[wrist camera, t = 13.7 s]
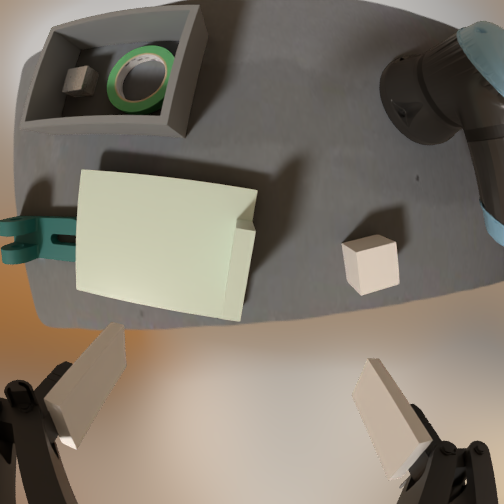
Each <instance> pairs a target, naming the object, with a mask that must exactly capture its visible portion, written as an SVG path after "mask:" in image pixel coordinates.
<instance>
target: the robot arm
mask: <svg viewBox="0 0 504 504" xmlns="http://www.w3.org/2000/svg"><path fill="white" fill-rule="evenodd" d="M380 96H381V100H382V103H383V106H384V108H385V111H386V113H387V115H388V116H389V118H390V120H391V121H392V123H393V124H394V125H395V126H396V128H397V129H398V130H399V131H400V132H401V133H402V134H404V135H405V136H406V137H407V138H409V139H410V140H412V141H414V142H416V143H419V144H422V145H435V144H441V143H444V142H446V141H448V140H449V139H451V138H452V137H453V136H454V135H455V133H457V132H458V131H459V130H460V129H462V128H463V130H464V133H465V136H466V139H467V143H468V146H469V150H470V154H471V157H472V161H473V166H474V170H475V175H476V179H477V184H478V189H479V195H480V199H479V201H480V205H481V208H482V209H483V215H484V220H485V225H486V229H487V231H488V233H489V234H490V235H491V236H492V237H493V239H494V240H495V241H496V242H498V243H499V244H500V245H502V246H504V29H502V28H501V27H499V26H498V25H495V24H493V23H490V22H486V21H480V22H476V23H474V24H472V25H470V26H468V27H464V28H461V29H459V30H458V31H457V32H456V33H455V34H453V35H452V36H450V37H449V38H447V39H446V40H444V41H443V42H441V43H439V44H438V45H436V46H435V47H433V48H432V49H430V50H429V51H428V52H426V53H425V54H419V55H411V56H403V57H400V58H398V59H396V60H394V61H393V62H392V63H390V64H389V65H388V66H387V67H386V68H385V69H384V71H383V73H382V75H381V78H380ZM125 368H126V353H125V336H124V325H121V324H117V323H114V322H111V323H110V324H109V325H108V326H107V327H106V328H105V329H104V330H103V331H102V333H101V334H100V335H99V336H98V337H97V338H96V339H95V340H94V341H93V343H91V345H90V346H89V347H88V348H87V349H86V350H85V351H84V352H83V353H82V355H81V356H80V357H79V358H78V359H77V360H76V361H75V363H74V364H72V363H69V362H63V363H61V364H60V365H57V366H56V368H54V370H53V371H52V372H51V373H50V374H49V375H48V376H47V378H45V379H44V380H43V382H42V383H41V384H40V385H39V386H38V387H37V388H36V389H35V390H34V391H33V388H32V386H31V385H30V384H29V383H28V382H26V381H24V380H16V381H12V382H10V383H8V384H7V386H6V387H5V390H4V393H5V395H6V397H7V399H4V398H0V504H16V500H15V477H16V475H15V474H16V457H17V459H18V464H19V469H20V473H21V478H22V482H23V486H24V490H25V493H26V496H27V500H28V503H29V504H78V503H77V501H76V499H75V496H74V494H73V491H72V489H71V486H70V484H69V481H68V478H67V476H66V473H65V470H64V467H63V464H62V461H61V458H60V455H59V451H58V448H57V444H56V442H55V439H56V438H57V436H58V435H59V437H60V439H61V442H62V443H63V444H65V445H68V446H70V447H72V448H74V449H78V447H79V445H80V443H81V442H82V440H83V438H84V437H85V435H86V433H87V431H88V430H89V428H90V426H91V424H92V423H93V421H94V419H95V417H96V416H97V414H98V412H99V411H100V409H101V407H102V406H103V404H104V402H105V401H106V399H107V397H108V395H109V394H110V392H111V391H112V389H113V387H114V386H115V384H116V382H117V381H118V379H119V378H120V376H121V374H122V373H123V371H124V370H125ZM352 397H353V400H354V402H355V404H356V407H357V409H358V411H359V413H360V415H361V418H362V420H363V422H364V425H365V427H366V429H367V431H368V434H369V436H370V438H371V441H372V443H373V445H374V448H375V450H376V452H377V455H378V457H379V459H380V462H381V464H382V467H383V469H384V471H385V474H386V476H387V479H388V480H393V479H397V478H401V477H403V475H404V474H405V473H406V472H407V471H408V470H409V472H410V474H411V475H410V476H409V477H408V478H407V479H406V480H405V481H404V482H403V483H402V484H401V486H400V487H399V488H402V487H403V486H404V485H405V486H404V488H403V491H402V493H401V495H400V497H399V500H398V502H397V504H498V498H497V491H496V484H495V478H494V471H493V466H492V461H491V457H490V452H489V449H488V447H487V445H486V444H485V443H483V442H481V441H474V442H472V443H471V444H470V445H469V447H468V448H463V449H461V448H460V449H459V448H458V449H457V448H456V446H455V445H454V444H453V443H451V442H449V441H441V439H440V438H439V436H438V435H437V433H436V432H435V430H434V429H433V427H432V426H431V424H430V423H429V421H428V420H427V418H425V415H424V414H423V412H422V411H421V410H420V409H419V408H418V407H417V406H416V405H414V404H409V403H408V401H407V399H406V398H405V396H404V395H403V393H402V392H401V390H400V389H399V387H398V386H397V384H396V383H395V381H394V380H393V378H392V377H391V375H390V374H389V372H388V371H387V370H386V368H385V367H384V366H383V364H382V362H381V361H380V359H371V358H368V359H367V361H366V363H365V366H364V368H363V371H362V373H361V375H360V378H359V380H358V382H357V384H356V387H355V389H354V391H353V393H352ZM466 479H467V484H466V485H465V480H466Z"/></svg>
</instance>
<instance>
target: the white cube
mask: <svg viewBox="0 0 504 504" xmlns="http://www.w3.org/2000/svg"><path fill="white" fill-rule="evenodd" d="M342 249H343V256H344V262H345V269H346V277H347V282H348V283H349V284H350V285H351V286H352V287H353V288H354V289H355V290H356V291H357V292H358V293H359V294H360V295H365V294H368V293H371V292H375V291H378V290H381V289H385V288H388V287H391V286H394V285H397V284H399V269H398V256H397V246H396V242H395V241H393V240H390V239H388V238H386V237H383V236H381V235H378V234H377V235H373V236H369V237H364V238H360V239H356V240H352V241H348V242H344V243H342Z"/></svg>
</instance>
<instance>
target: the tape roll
mask: <svg viewBox="0 0 504 504" xmlns="http://www.w3.org/2000/svg"><path fill="white" fill-rule="evenodd" d="M174 58H175V57H174V56H173V54H172V53H171V52H170V51H168V50H167V49H165V48H163V47H160V46H153V45H151V46H143V47H139V48H137V49H134V50H132V51H130V52H129V53H127V54H126V55H124V56H123V57H122V58H121V59H120V60H119V61H118V62H117V63H116V65H115V66H114V67H113V69H112V71H111V73H110V75H109V78H108V82H107V94H108V97H109V100H110V102H111V103H112V104H113V105H114V106H115V107H116V108H117V109H119V110H121V111H123V112H125V113H127V114H130V115H146V114H150V113H153V112H155V111H157V110H159V109H160V108H162V106H163V101H164V97H165V93H166V89H167V84H168V81H169V77H170V73H171V69H172V65H173V62H174ZM149 60H155V61H159V62H162V63H163V64H164V65H165V71H166V72H165V77H164V80H163V82H162V84H161V85H160V87H159V88H158V89H157V91H156V92H154V93H153V94H152V95H150V96H149V97H147V98H145V99H142V100H138V101H130V100H127V99H126V98H125V97H124V94H123V90H122V87H123V82H124V79H125V77H126V75H127V74H128V72H129V71H130V70H131V69H132V68H133V67H135V66H136V65H138V64H140V63H142V62H145V61H149Z"/></svg>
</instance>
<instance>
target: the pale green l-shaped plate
mask: <svg viewBox="0 0 504 504" xmlns="http://www.w3.org/2000/svg"><path fill="white" fill-rule="evenodd" d="M257 191H258V190H253V189H247V188H241V187H235V186H228V185H222V184H215V183H208V182H201V181H194V180H186V179H178V178H170V177H161V176H152V175H143V174H133V173H122V172H110V171H97V170H82V171H81V178H80V187H79V197H78V209H77V226H76V288H77V290H81V291H85V292H89V293H93V294H97V295H102V296H106V297H110V298H114V299H119V300H123V301H128V302H133V303H137V304H142V305H147V306H152V307H157V308H163V309H168V310H173V311H179V312H184V313H190V314H196V315H202V316H208V317H215V318H221V319H226V320H233V321H240V319H241V313H242V308H243V302H244V296H245V290H246V285H247V279H248V273H249V268H250V262H251V256H252V250H253V245H254V239H255V233H256V230H255V227H254V225H253V222H252V220H253V215H254V209H255V203H256V197H257Z"/></svg>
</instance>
